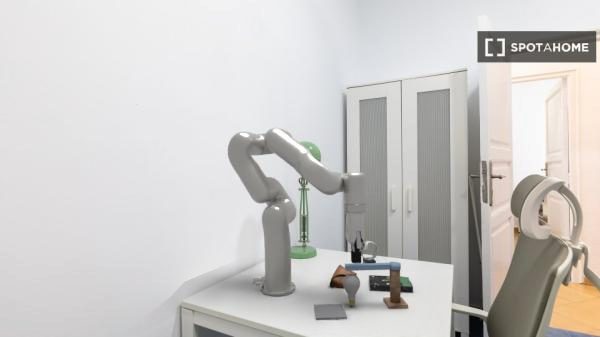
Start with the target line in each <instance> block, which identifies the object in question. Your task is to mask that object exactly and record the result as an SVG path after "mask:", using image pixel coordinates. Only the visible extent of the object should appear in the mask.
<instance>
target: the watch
mask: <svg viewBox="0 0 600 337" xmlns="http://www.w3.org/2000/svg"><path fill="white" fill-rule="evenodd" d="M369 244H373V245H375V249H374V252H373V254H372V256H371V257H364V253H365V252H366V251H367V249H368V248H369V247H368V246H369ZM378 253H379V247H378V245H377V244H376V243H375V242H373V241H371V240H365V242H364V243H363V244H362V243H361V258H362V263H377V260H375V259H376V258H377V256H378Z"/></svg>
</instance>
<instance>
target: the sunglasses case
mask: <svg viewBox="0 0 600 337" xmlns="http://www.w3.org/2000/svg"><path fill="white" fill-rule="evenodd" d="M348 274H354V275H356V276H357V272H355V271H346V270H345V266H343V265H342V264H339V265H338V266H337V267H336V270H334V273H333V274H332V277H331V279H330V281H329V287H330V288H331V287H332V288H331V289H343V290H345V288H344V286H343V279H344V277H345V276H346V275H348Z"/></svg>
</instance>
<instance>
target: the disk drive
mask: <svg viewBox="0 0 600 337" xmlns="http://www.w3.org/2000/svg"><path fill="white" fill-rule="evenodd" d="M368 283H369V291H371V292H387V293H388V292H389V293H390V275H377V274H376V275H374V274H370V275H368ZM400 293H409V294H413V293H414V286H413V283H412V281H411V280H410V277H408V276H401V275H400Z"/></svg>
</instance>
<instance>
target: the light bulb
mask: <svg viewBox="0 0 600 337" xmlns="http://www.w3.org/2000/svg"><path fill="white" fill-rule="evenodd" d="M343 286H344V288H345V289H344V290H345V291H346V294H347V298H348V305H349V306H351V307H353V306H355V305H356V294H357V293H358V291H359V290H360V287H361V280H360V278H359V277H358V275H357V274H356V275H354V274H348V275H346V276H345V277H344V279H343Z"/></svg>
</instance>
